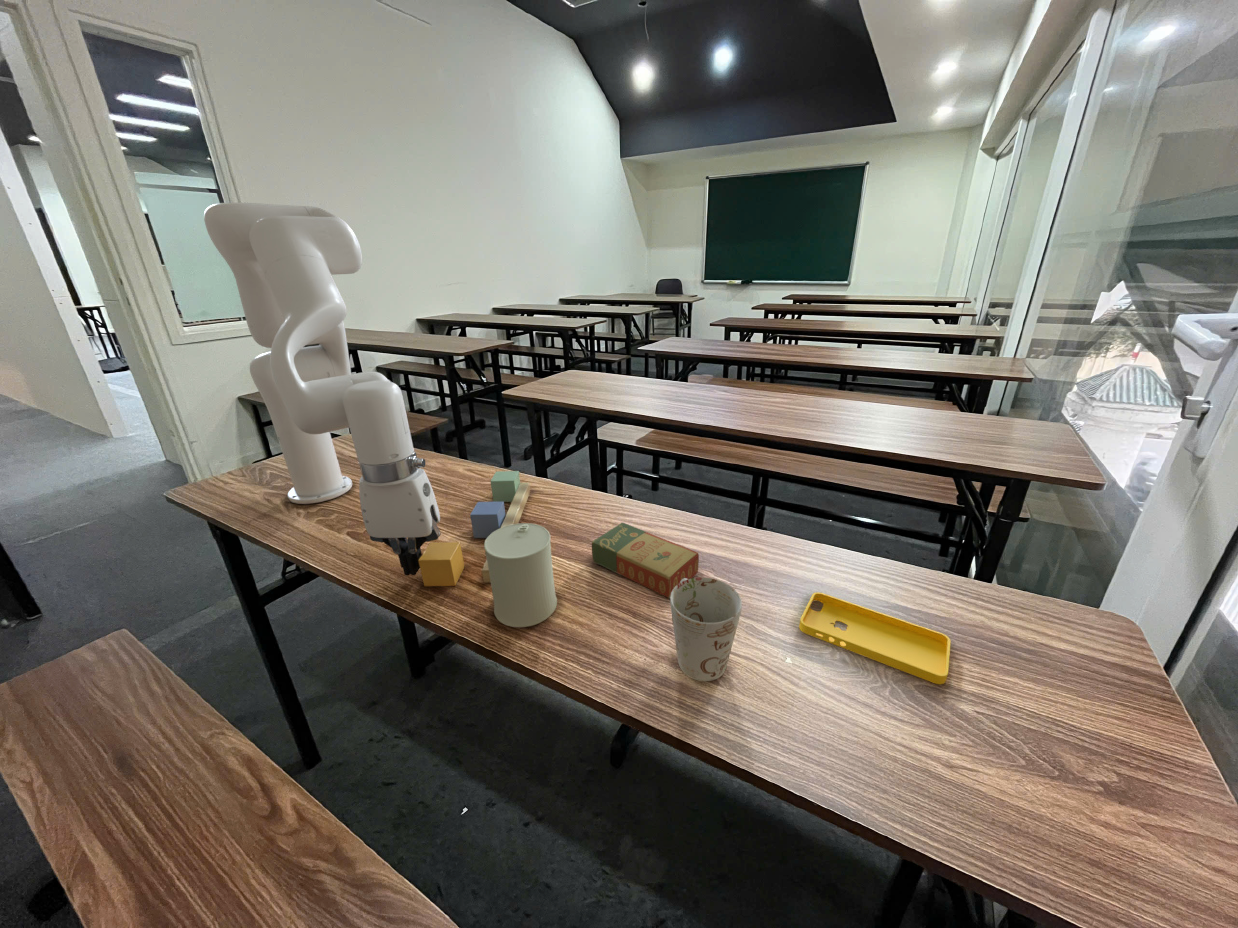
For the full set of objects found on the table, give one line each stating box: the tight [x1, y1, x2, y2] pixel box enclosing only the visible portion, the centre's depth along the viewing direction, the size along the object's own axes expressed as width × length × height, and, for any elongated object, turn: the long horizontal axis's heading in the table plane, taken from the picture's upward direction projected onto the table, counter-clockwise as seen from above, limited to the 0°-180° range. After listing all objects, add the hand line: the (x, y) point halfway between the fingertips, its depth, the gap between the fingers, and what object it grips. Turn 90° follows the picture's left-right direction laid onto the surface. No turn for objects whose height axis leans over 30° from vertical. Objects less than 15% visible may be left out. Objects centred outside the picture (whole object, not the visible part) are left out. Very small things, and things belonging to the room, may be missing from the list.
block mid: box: [469, 501, 506, 539], centre depth 90 cm, size 5×5×5 cm
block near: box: [418, 541, 465, 587], centre depth 77 cm, size 5×5×5 cm
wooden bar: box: [481, 482, 531, 584], centre depth 91 cm, size 32×2×2 cm, turn 0°
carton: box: [591, 522, 700, 599], centre depth 78 cm, size 8×16×4 cm, turn 50°
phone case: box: [798, 591, 952, 685], centre depth 63 cm, size 8×17×1 cm, turn 55°
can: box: [483, 522, 558, 628], centre depth 69 cm, size 9×9×12 cm
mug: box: [669, 577, 743, 682], centre depth 60 cm, size 8×13×10 cm, turn 16°
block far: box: [490, 470, 521, 503], centre depth 103 cm, size 5×5×5 cm
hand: (413, 569), depth 78 cm, fingers closed
